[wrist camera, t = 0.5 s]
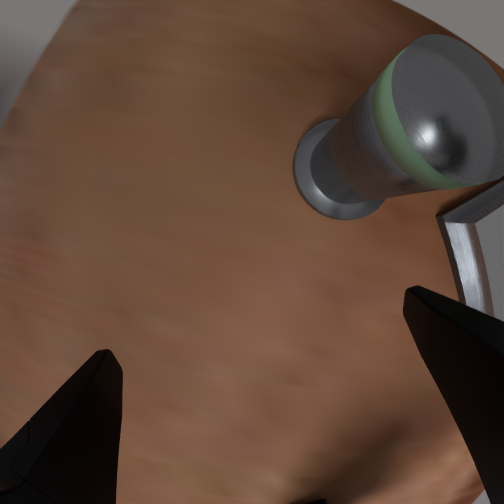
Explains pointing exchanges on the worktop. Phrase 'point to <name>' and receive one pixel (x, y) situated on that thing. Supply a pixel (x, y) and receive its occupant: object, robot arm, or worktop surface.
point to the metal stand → (477, 248)
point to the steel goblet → (408, 133)
